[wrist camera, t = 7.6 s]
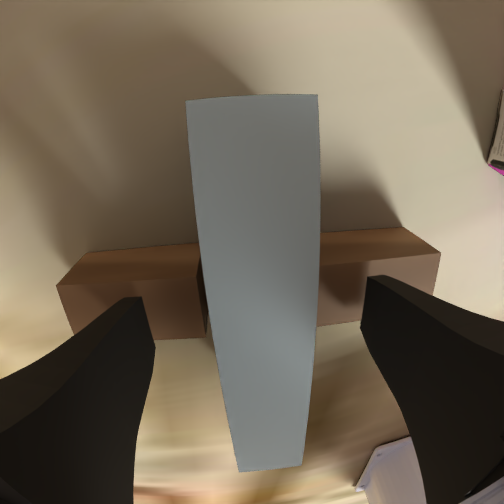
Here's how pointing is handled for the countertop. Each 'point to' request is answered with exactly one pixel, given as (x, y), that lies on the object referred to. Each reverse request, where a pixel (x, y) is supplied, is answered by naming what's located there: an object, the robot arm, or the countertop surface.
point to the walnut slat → (193, 287)
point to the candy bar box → (498, 140)
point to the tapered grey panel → (260, 262)
